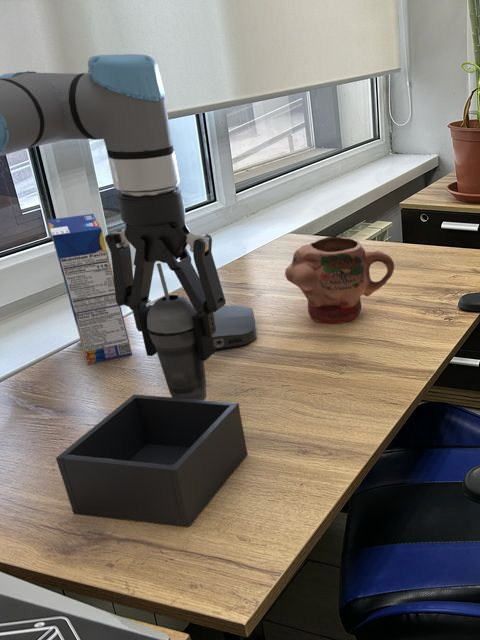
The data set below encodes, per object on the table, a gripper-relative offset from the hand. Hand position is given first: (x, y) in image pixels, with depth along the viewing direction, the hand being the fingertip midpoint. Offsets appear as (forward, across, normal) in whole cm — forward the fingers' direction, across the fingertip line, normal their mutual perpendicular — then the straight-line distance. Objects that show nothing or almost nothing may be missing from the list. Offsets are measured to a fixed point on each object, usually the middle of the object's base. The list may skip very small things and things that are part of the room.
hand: (181, 353), depth 98 cm
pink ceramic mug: (+10, -9, -39) cm, 41 cm away
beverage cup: (+7, 0, 0) cm, 7 cm away
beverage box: (+10, +27, -18) cm, 34 cm away
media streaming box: (+10, +11, -26) cm, 30 cm away
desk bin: (+9, -5, +16) cm, 19 cm away
